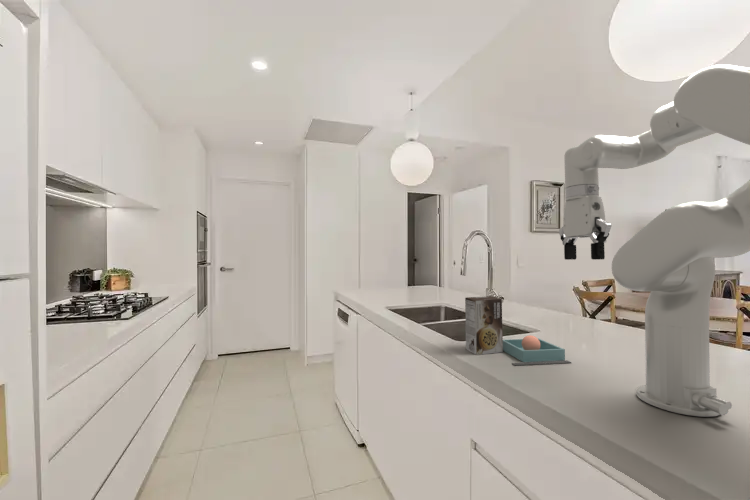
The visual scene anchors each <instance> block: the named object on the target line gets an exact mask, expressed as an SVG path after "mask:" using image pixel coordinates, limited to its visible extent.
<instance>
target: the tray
mask: <svg viewBox="0 0 750 500" xmlns="http://www.w3.org/2000/svg"><path fill="white" fill-rule="evenodd" d="M537 338H538V337H537ZM522 340H523V338H514V339H512V338H511V339H509V338H508V339H503V351H504V353H506V354H508V355H509V356H511V357H514V358H515V359H517V360H519V361H520V362H521V363H524V362H546V361H566V349H565V348H562V347H560V346H557V345H556V344H553V343H551V342H548V341H546V340H543V339H542V338H538V340H539V341H540V345H541V346H540V349H539V350H524V349H523V347H522Z"/></svg>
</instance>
